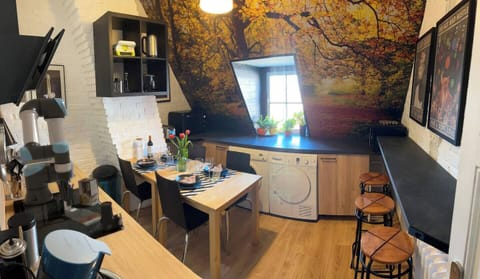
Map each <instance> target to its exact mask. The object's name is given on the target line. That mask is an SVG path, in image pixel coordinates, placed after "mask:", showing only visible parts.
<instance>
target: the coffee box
mask: <svg viewBox="0 0 480 279" xmlns="http://www.w3.org/2000/svg"><path fill="white" fill-rule="evenodd" d="M77 184H78V192H79V201H80V205H83V206H91V207H92V206H95V205H97V204H99V203H101V202H100V193H99V183H98V178H93V177H92V178H90V177H84V178H82V179H80V180H78V181H77Z"/></svg>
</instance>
